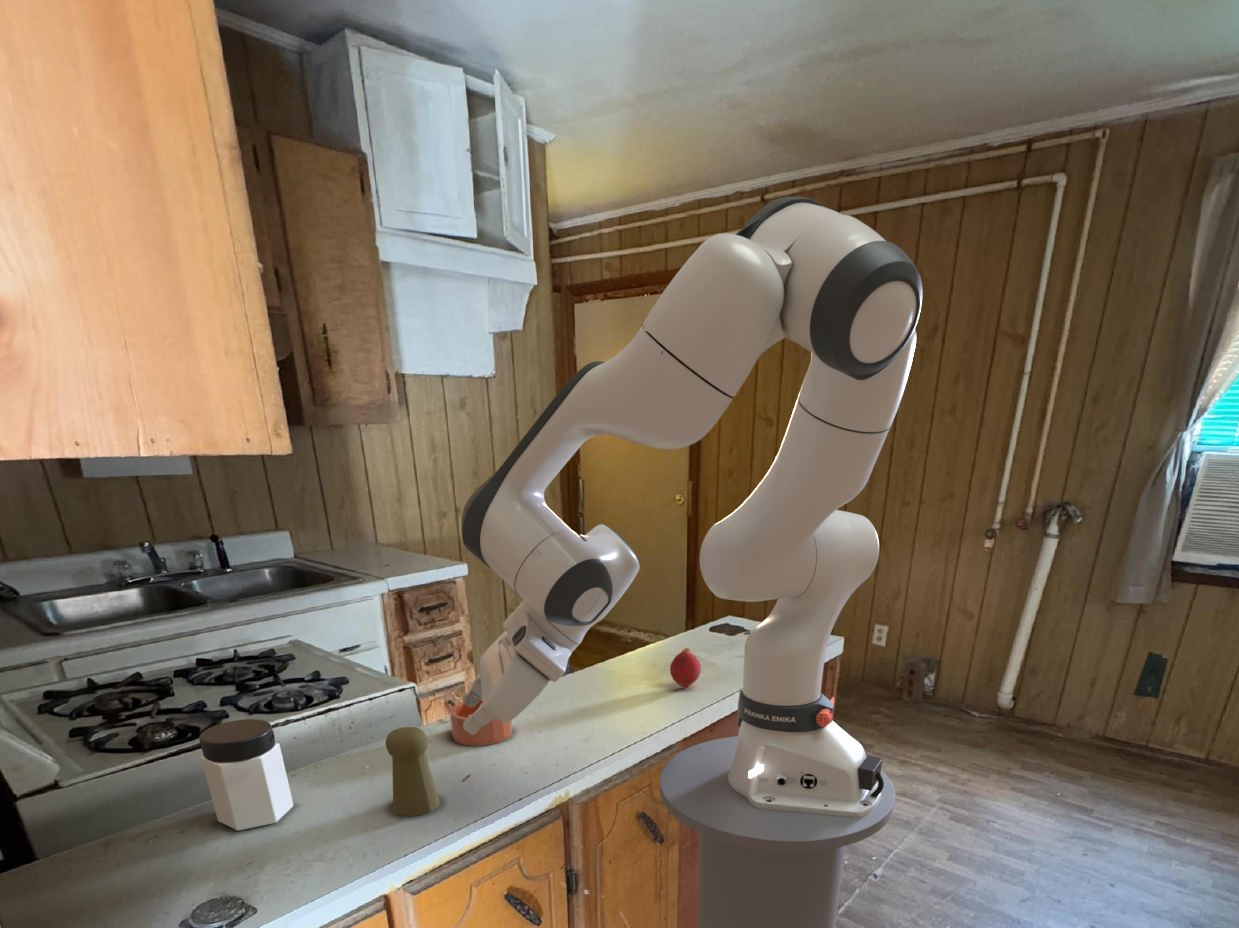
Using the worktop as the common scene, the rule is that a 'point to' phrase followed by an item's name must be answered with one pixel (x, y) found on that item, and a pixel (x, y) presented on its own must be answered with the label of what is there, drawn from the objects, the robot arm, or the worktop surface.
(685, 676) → the pomegranate
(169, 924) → the worktop surface
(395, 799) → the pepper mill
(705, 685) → the worktop surface
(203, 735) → the jar
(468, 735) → the bowl
